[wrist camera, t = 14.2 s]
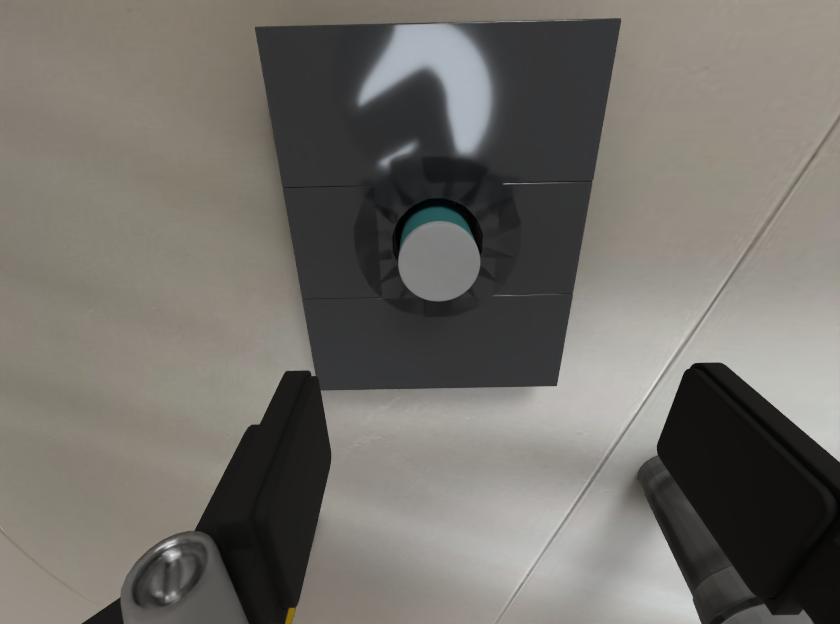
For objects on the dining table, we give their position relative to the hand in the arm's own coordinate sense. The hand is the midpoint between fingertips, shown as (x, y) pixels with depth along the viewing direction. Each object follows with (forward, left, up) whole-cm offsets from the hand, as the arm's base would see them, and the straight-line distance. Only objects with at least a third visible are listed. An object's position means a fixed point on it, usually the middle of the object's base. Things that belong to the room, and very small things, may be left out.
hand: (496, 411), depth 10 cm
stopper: (0, -1, -16) cm, 16 cm away
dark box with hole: (0, -1, -16) cm, 16 cm away
